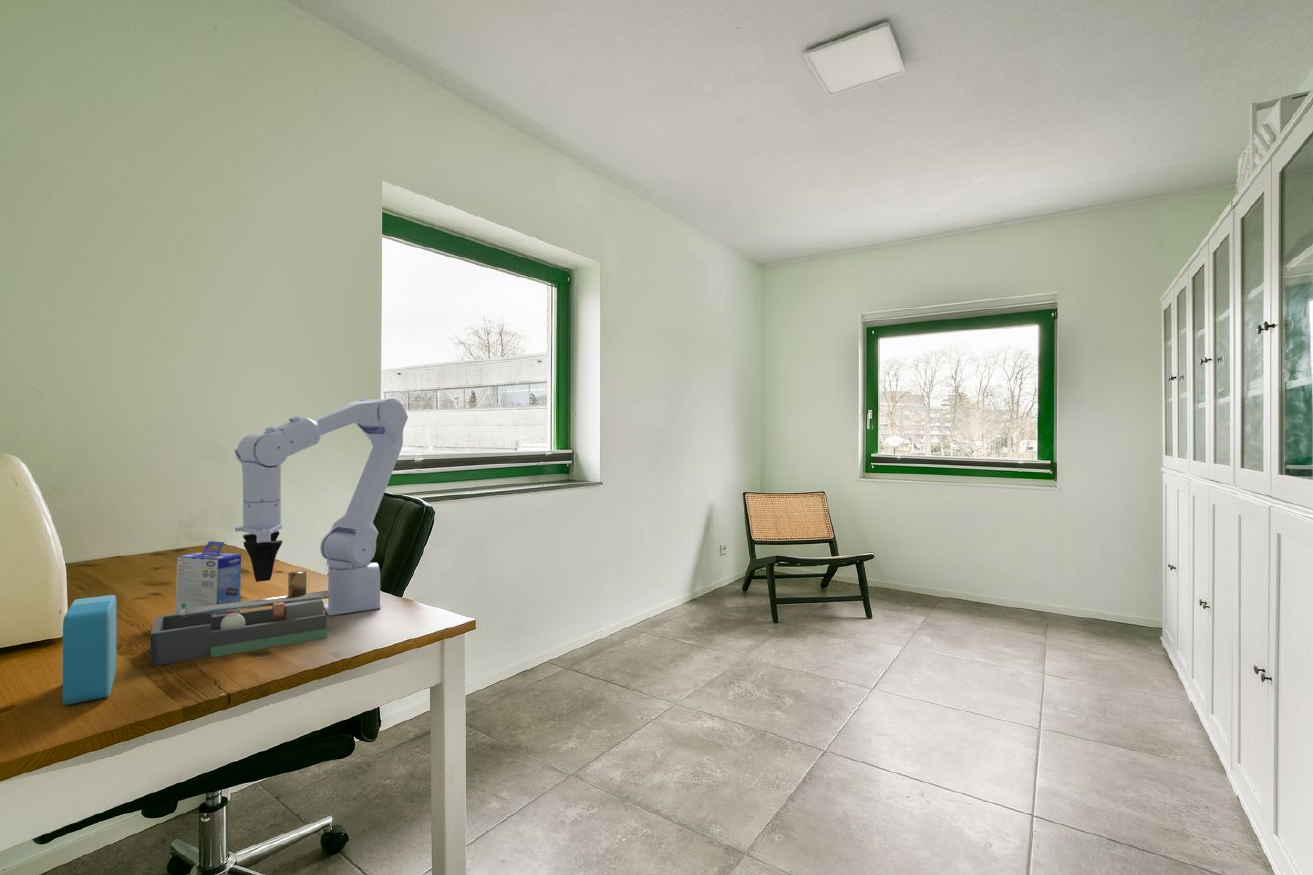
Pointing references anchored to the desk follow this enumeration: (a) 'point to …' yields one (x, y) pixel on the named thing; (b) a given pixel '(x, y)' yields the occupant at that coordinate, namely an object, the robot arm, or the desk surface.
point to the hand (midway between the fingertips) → (262, 576)
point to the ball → (232, 621)
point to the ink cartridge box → (208, 579)
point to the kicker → (265, 600)
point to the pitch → (234, 632)
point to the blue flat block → (89, 649)
